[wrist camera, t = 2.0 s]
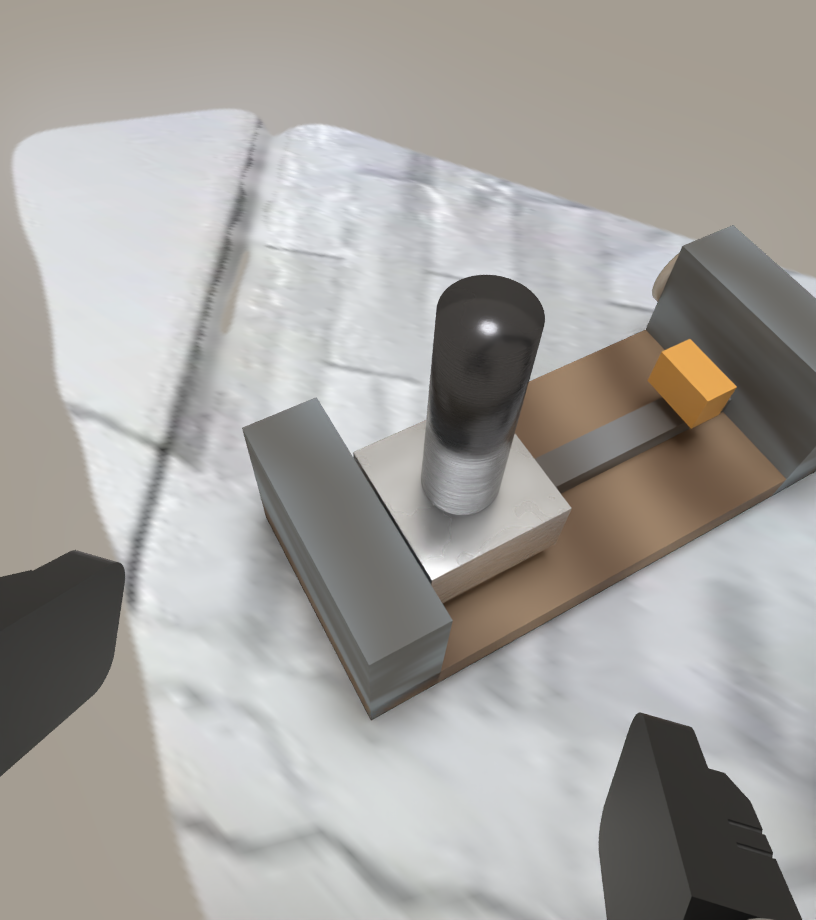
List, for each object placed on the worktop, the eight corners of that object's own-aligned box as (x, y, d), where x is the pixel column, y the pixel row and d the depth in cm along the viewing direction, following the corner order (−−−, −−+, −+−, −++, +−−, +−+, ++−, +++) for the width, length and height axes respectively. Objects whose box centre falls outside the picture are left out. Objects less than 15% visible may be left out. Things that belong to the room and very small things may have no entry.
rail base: (680, 322, 41) (732, 217, 35) (822, 467, 36) (910, 375, 30) (262, 510, 34) (237, 419, 28) (370, 720, 29) (369, 665, 23)
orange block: (674, 367, 35) (689, 338, 33) (718, 414, 33) (737, 387, 32) (647, 380, 34) (661, 351, 33) (691, 428, 33) (708, 401, 31)
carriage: (477, 435, 33) (520, 215, 23) (555, 543, 31) (643, 349, 20) (355, 491, 32) (344, 280, 21) (427, 611, 29) (453, 435, 19)
